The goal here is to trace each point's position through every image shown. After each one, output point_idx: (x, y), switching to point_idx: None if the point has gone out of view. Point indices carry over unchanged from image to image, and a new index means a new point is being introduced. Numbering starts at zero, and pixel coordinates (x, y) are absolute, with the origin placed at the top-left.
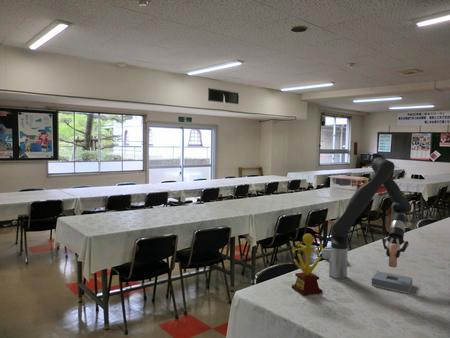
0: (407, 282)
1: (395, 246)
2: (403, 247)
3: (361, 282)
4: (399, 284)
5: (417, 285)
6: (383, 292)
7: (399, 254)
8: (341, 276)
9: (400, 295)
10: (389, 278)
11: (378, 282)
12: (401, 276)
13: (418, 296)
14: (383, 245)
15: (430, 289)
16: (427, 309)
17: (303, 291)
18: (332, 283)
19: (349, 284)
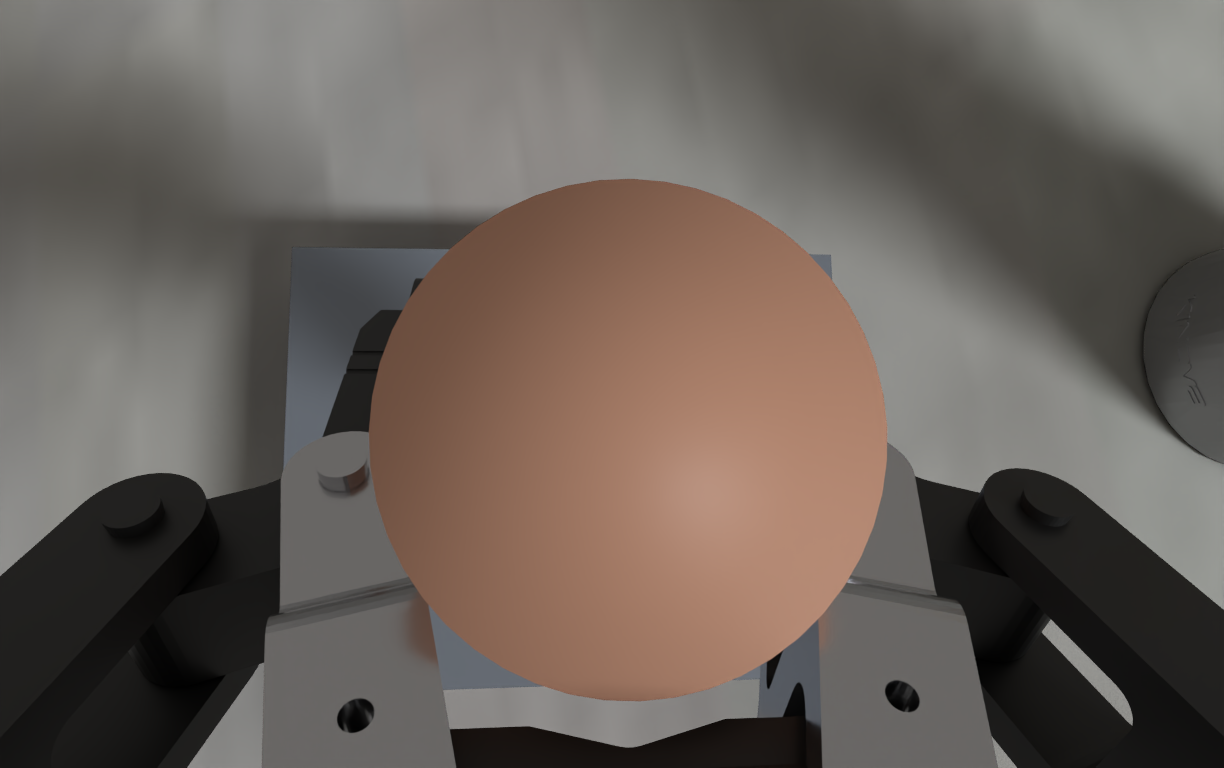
0: (325, 390)
1: (476, 252)
2: (63, 599)
3: (930, 313)
4: (429, 252)
5: (243, 699)
6: (610, 122)
7: (354, 358)
8: (1205, 262)
9: (410, 143)
10: None
11: None
12: (451, 650)
13: (200, 244)
14: (1118, 528)
15: None
16: None
17: None
18: (1195, 59)
19: (1026, 147)
